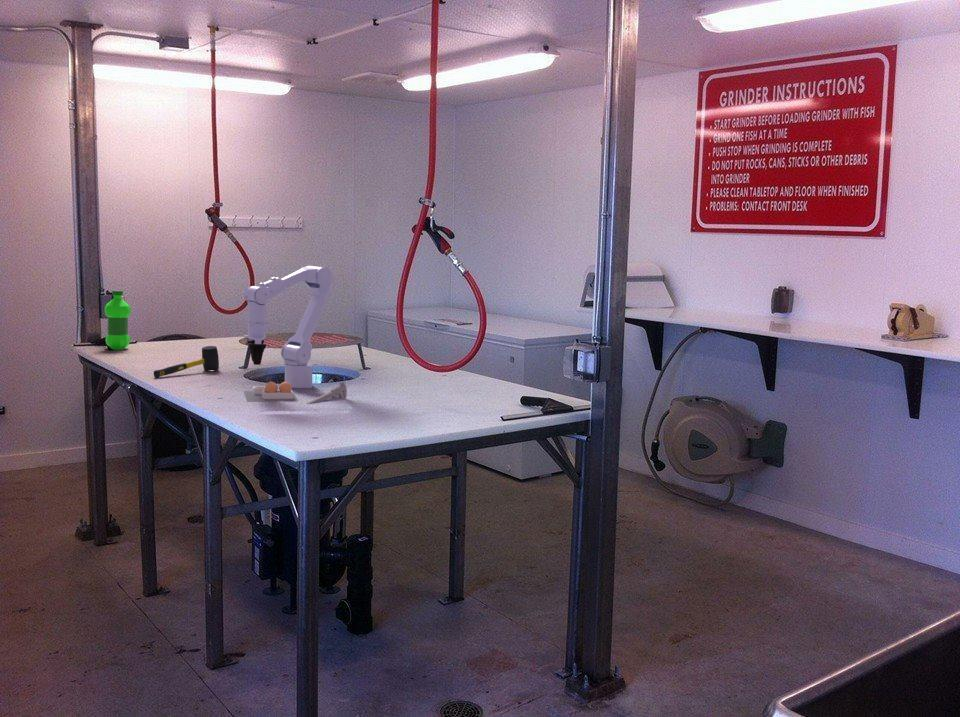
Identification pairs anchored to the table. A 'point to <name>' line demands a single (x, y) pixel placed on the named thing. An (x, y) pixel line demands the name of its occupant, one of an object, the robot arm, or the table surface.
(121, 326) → the plastic bottle
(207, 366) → the mallet
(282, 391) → the ball left
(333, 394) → the caliper
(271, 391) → the ball
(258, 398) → the mat
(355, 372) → the table surface
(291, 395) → the hollow rectangular frame
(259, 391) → the tube
